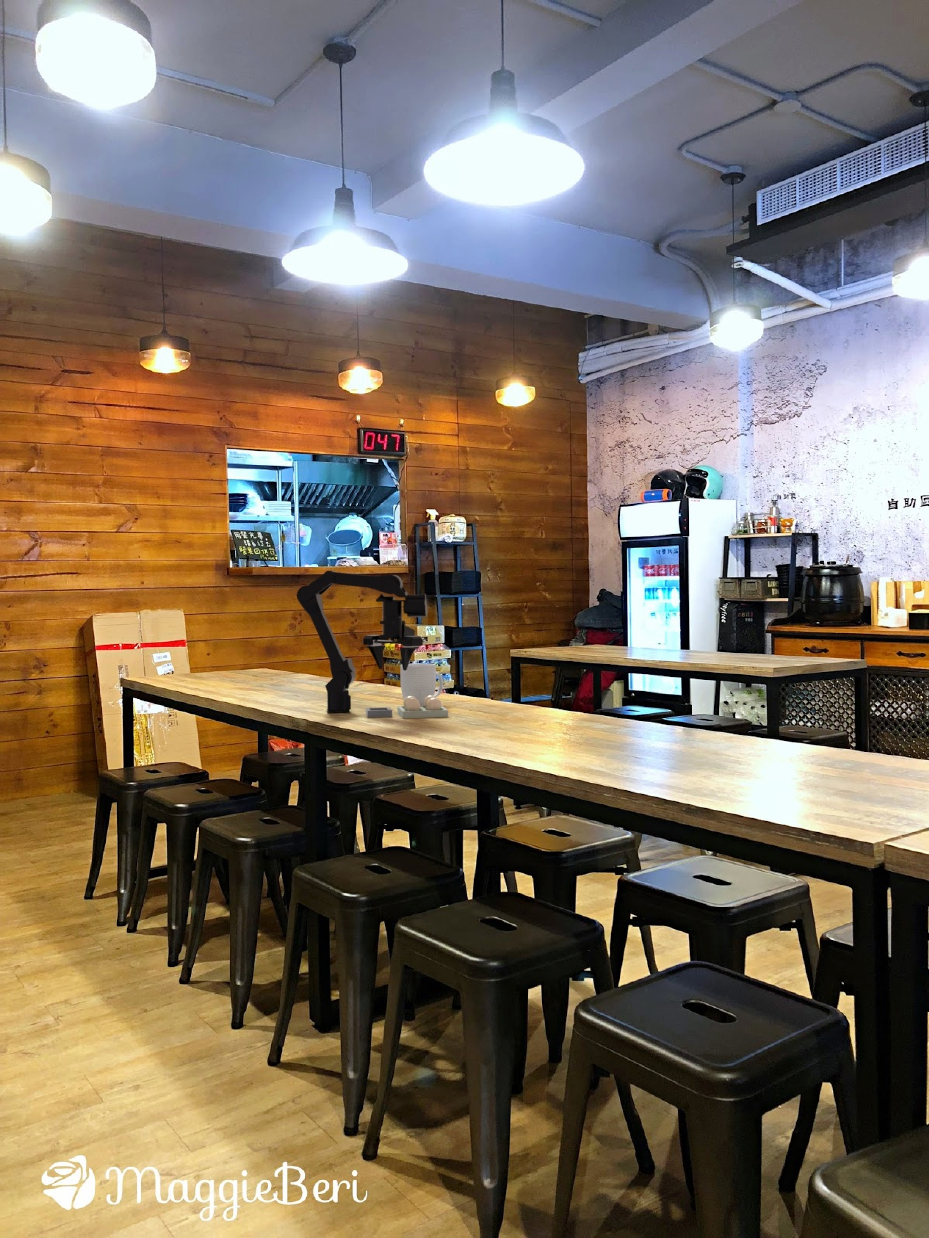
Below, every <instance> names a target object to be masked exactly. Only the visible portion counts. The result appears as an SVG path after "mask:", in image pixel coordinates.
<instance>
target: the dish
mask: <svg viewBox="0 0 929 1238" xmlns="http://www.w3.org/2000/svg"><path fill="white" fill-rule="evenodd" d="M365 715H366V717H367V718H393V709H392V708H391V707H389V706H387V707H385V706H384V707H382V706H381V707H365Z"/></svg>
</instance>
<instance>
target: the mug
mask: <svg viewBox="0 0 929 1238" xmlns="http://www.w3.org/2000/svg"><path fill="white" fill-rule="evenodd" d="M399 673H400V674H399V675H400V677H399V679H400V690H401V694H402V698H403V700H404V699H405V698H406V697H408V696H413V697H415V698H416V699H417V700H419V702H420V704H421V705H424V700H425V698H426V697H427V696H430V695H432V696H435V697H436V698H438V697H439V696H440V695H441V693H442V691H443V689H444V679H443V676H442V675H441V673H440V672H438V671H437V664H435V663H426V662H425V663H422V662H421V663H409V664H408V667H407V670H405V671H404V670H403V667H402V664H400V672H399ZM437 678H438V683H439V684H438V685H439V686H438V689H437V691H436V687H437V686H436V685H437Z"/></svg>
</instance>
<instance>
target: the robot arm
mask: <svg viewBox="0 0 929 1238" xmlns="http://www.w3.org/2000/svg"><path fill="white" fill-rule="evenodd" d="M403 584H404V582H403V580H402V579H401V577H400V576H398V575H395V574H378V575H364V574H355V573H347V572H338V571H334V570H325V572H323V574H322V575H320V576H319V577H318V578H316V579H315V580H313V581H311V583H309V584H308V585H303V586H300V588H299V589H298V590H297V592H296V599H297V601H298V603H299V605H300V606H301V607H302V609H303V610H304V611H305V612H306V613H307V615H308V616H309V617H310V619H311V621H312V624H313V625H314V629H315V630H316V633H317V635H318V637H319V639H320V642H321V644H322V646H323V648H324V651H325V653H326V656H327V658H328V662H329V668H330V674H331V679H330V680H329V681H328V682H327V683H326V684H325V685H324V687H325V689H326V694H327V695H326V699H327V700H326V706H327V708H326V712H327V713H331V714H332V713H333V714H334V713H350V711H351V710H352V702H351V701H352V697H351V695H350V692H349V688H350V685H351V684H352V683H354V682H355V680H356V677H357V674H356V671H357V668H356V667H355V666H354V663H353V660H352V658H351V657H349V658H346V657H345V655H344V654H343V652H342V651H341V648H340V646H339V643H338V641H337V639H336V637H335V634H334V632H333V630H332V628H331V626H330V623H329V620H328V619H327V617H326V614H325V612H324V604H323V603H324V602H323V599H322V595H323V594H325V593H326V592H327V590H329V589H330V588H331V587H332V586H333V585H343V586H350V587H359V588H368V589H372V590H375V591H378V592H381V593H380V595H379V596H378V597H377V598H376V599H375V603H382V620H379V625H382V634H368V635H367V634H366V635H364V637H363V638H362V645H363V646H366V647H365V648H367V649H368V650H369V652H370V653H371V655H372V657H373V659H374V661H375V663H376V665H377V667H378V670H383V668H384V667H383V665H384V650H385V648H386V645H385V644H390V645H391V644H394V645H401V646H402V647H401V646H400V647H399V653H400V658H401V659H400V660H401V665H402V667H403V670H404V671H405V670H407V667H408V664H410V661H411V658H412V657H413V654H414V652H415V651H416V650H417V649H420V647H422V646H423V645H424V644H423V643H424V641H423V640H424V639H423V638H422V636H421V635H415V634H416V630H415V629H413V628H411V627H409V626H407V625H406V621H405V620H403V614H404V615H406V616H407V617H408V618H426V617H428V602H427V594H426V593H420V594H409V593H408V591H407V590H406V588H404V585H403ZM383 593H384V594H388V596H387V595H386V596H385V595H384V594H383ZM393 595H394V596H393ZM395 596H396V597H397V598H404V599H396V597H395Z"/></svg>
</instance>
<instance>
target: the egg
mask: <svg viewBox="0 0 929 1238" xmlns="http://www.w3.org/2000/svg"><path fill="white" fill-rule="evenodd" d="M420 707H421V704H420V702H419V700H417V699H415V698H411V699H409V700H408V701H407V703H406V708H407V710H408V711H419V709H420Z"/></svg>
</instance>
